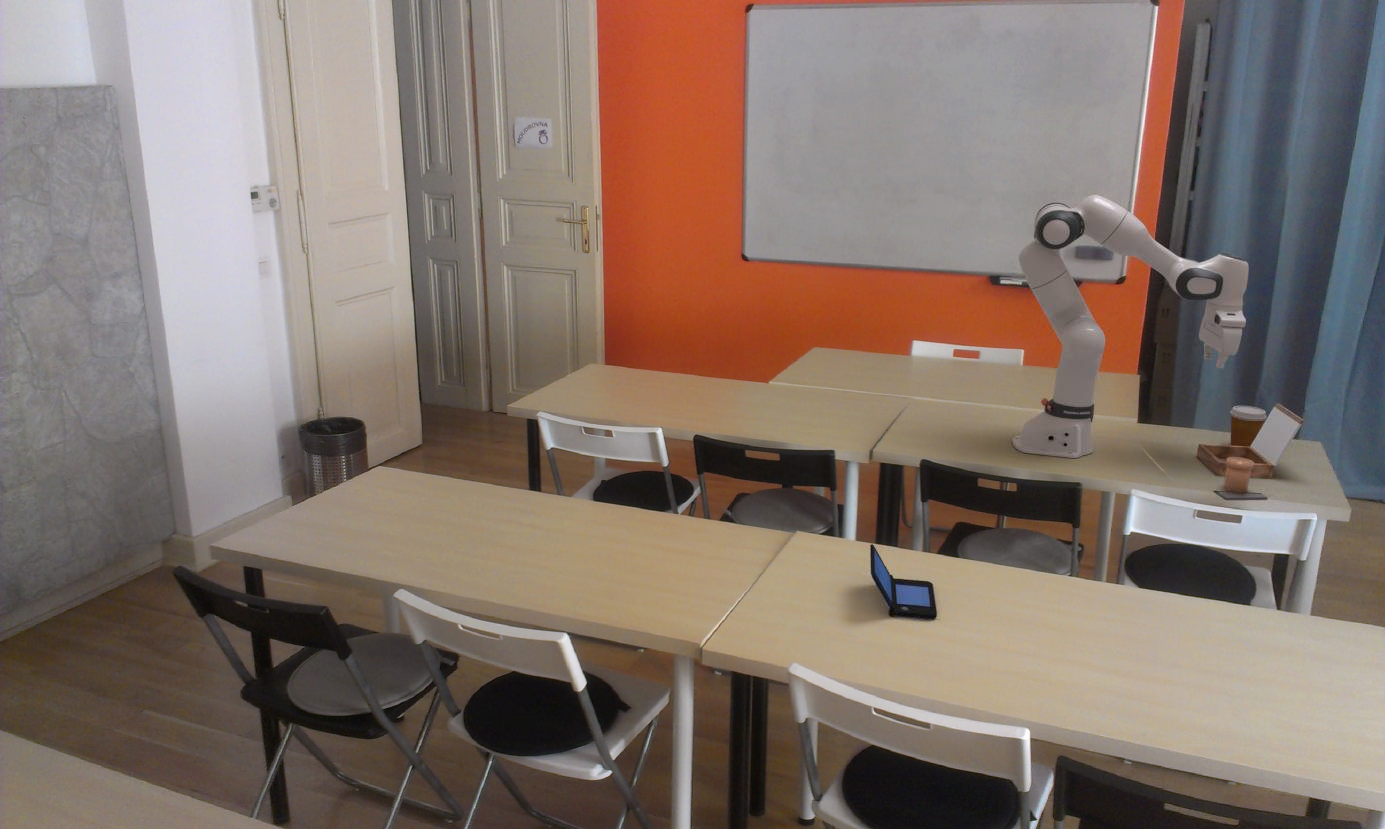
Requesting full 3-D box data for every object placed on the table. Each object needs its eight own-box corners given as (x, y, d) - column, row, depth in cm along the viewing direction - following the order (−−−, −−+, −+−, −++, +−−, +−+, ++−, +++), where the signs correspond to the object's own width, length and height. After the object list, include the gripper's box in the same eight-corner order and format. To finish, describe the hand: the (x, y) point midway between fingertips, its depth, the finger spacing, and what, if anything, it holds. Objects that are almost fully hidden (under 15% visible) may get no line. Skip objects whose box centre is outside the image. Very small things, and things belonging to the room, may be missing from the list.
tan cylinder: (1227, 493, 267) (1232, 464, 264) (1217, 484, 273) (1222, 456, 271) (1252, 494, 266) (1258, 465, 264) (1243, 485, 272) (1248, 457, 270)
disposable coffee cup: (1252, 444, 308) (1259, 405, 305) (1265, 454, 299) (1273, 415, 295) (1219, 442, 309) (1225, 404, 305) (1231, 453, 300) (1238, 413, 296)
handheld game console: (937, 622, 200) (941, 579, 197) (867, 616, 202) (870, 573, 199) (932, 586, 215) (935, 546, 212) (867, 581, 217) (870, 540, 214)
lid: (1301, 419, 272) (1305, 421, 272) (1276, 402, 287) (1279, 404, 287) (1273, 465, 276) (1277, 466, 276) (1250, 446, 292) (1253, 447, 292)
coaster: (1225, 499, 264) (1226, 497, 264) (1203, 484, 275) (1203, 482, 274) (1267, 499, 265) (1267, 497, 264) (1242, 484, 275) (1243, 482, 275)
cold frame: (1216, 478, 279) (1219, 462, 278) (1196, 458, 294) (1198, 444, 293) (1270, 481, 278) (1273, 465, 276) (1247, 461, 293) (1250, 446, 292)
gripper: (1197, 306, 289) (1189, 354, 293) (1223, 321, 270) (1213, 372, 274) (1221, 307, 289) (1212, 355, 293) (1248, 322, 269) (1238, 373, 273)
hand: (1213, 363), depth 283 cm, fingers open, 8 cm apart
